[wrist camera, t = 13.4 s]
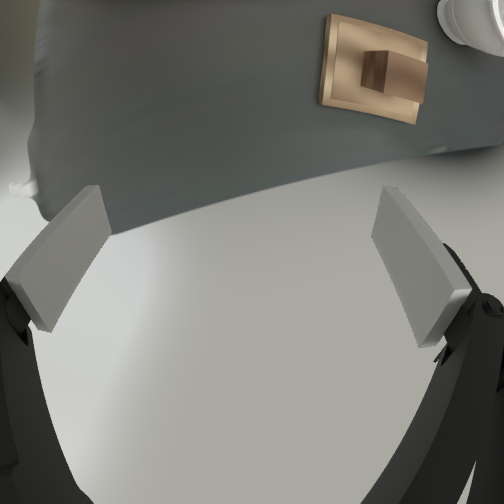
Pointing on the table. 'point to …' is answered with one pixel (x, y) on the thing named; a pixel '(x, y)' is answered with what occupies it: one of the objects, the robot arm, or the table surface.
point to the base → (351, 63)
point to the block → (394, 74)
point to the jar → (474, 23)
